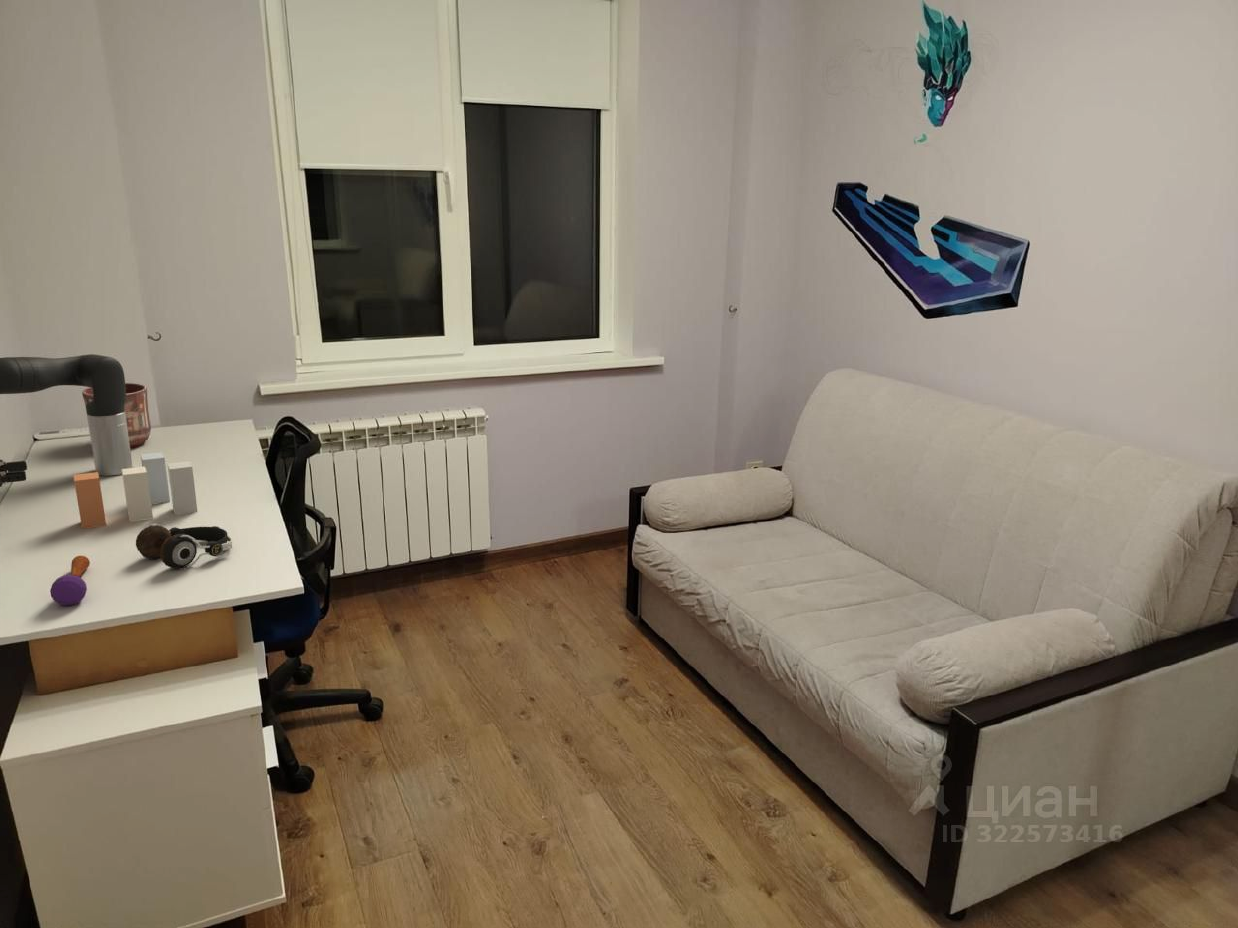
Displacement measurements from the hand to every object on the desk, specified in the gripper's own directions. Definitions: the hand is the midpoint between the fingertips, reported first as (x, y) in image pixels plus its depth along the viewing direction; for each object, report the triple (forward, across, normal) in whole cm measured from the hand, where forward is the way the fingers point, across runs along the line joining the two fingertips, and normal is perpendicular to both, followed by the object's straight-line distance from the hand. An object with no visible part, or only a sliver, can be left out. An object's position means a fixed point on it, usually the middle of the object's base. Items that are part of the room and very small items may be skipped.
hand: (26, 470), depth 196 cm
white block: (+26, +11, +15) cm, 32 cm away
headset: (+29, -29, +16) cm, 44 cm away
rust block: (+12, 0, +15) cm, 19 cm away
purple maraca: (+7, -38, +16) cm, 41 cm away
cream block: (+22, 0, +15) cm, 26 cm away
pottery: (+22, +70, +14) cm, 75 cm away
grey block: (+32, 0, +15) cm, 35 cm away
